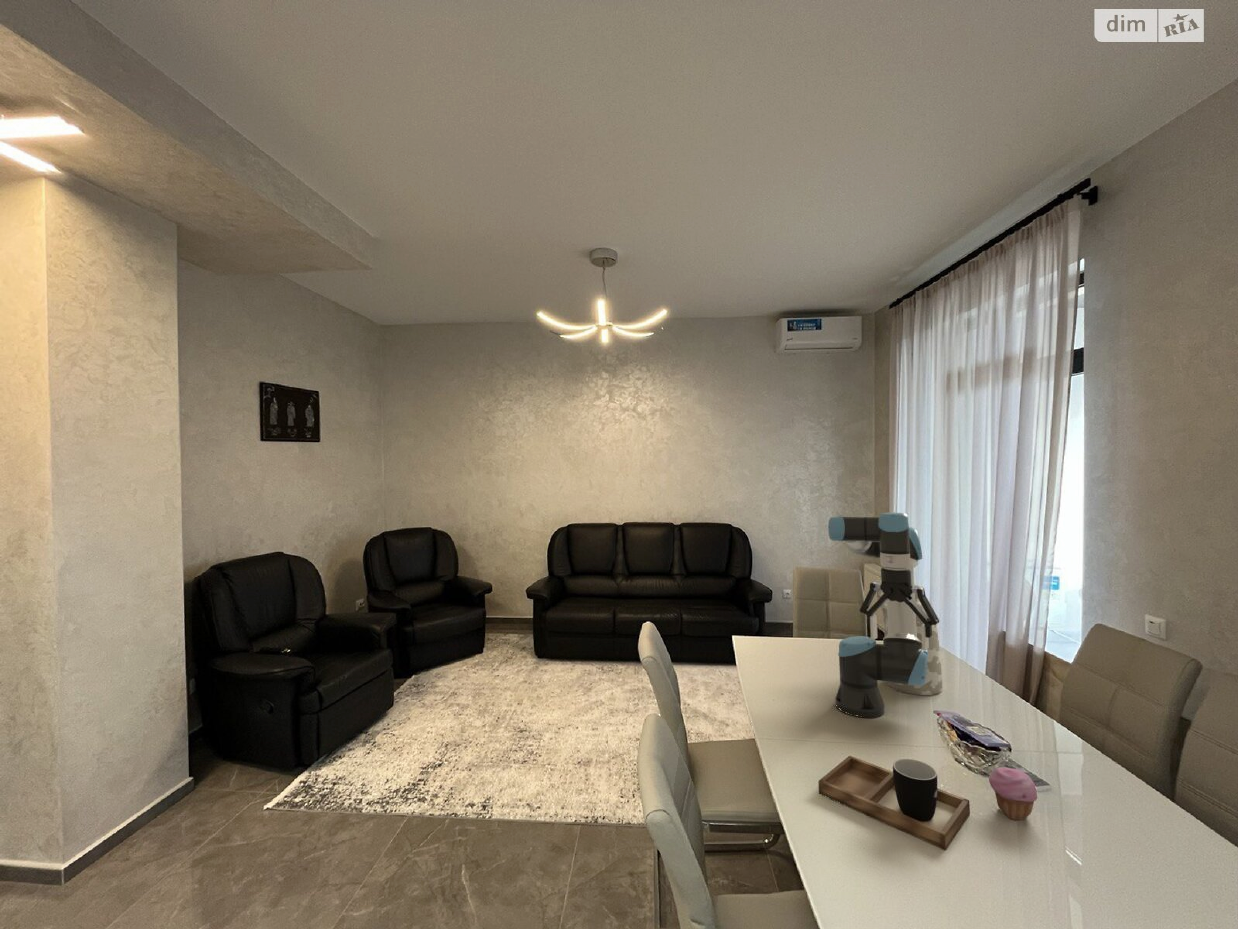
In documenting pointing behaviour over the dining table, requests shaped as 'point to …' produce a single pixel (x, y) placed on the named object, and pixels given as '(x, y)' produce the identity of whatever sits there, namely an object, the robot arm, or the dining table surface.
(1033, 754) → the dining table surface
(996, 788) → the cupcake
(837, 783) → the organizer box
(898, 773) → the mug
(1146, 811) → the dining table surface
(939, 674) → the vase
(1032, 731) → the dining table surface
